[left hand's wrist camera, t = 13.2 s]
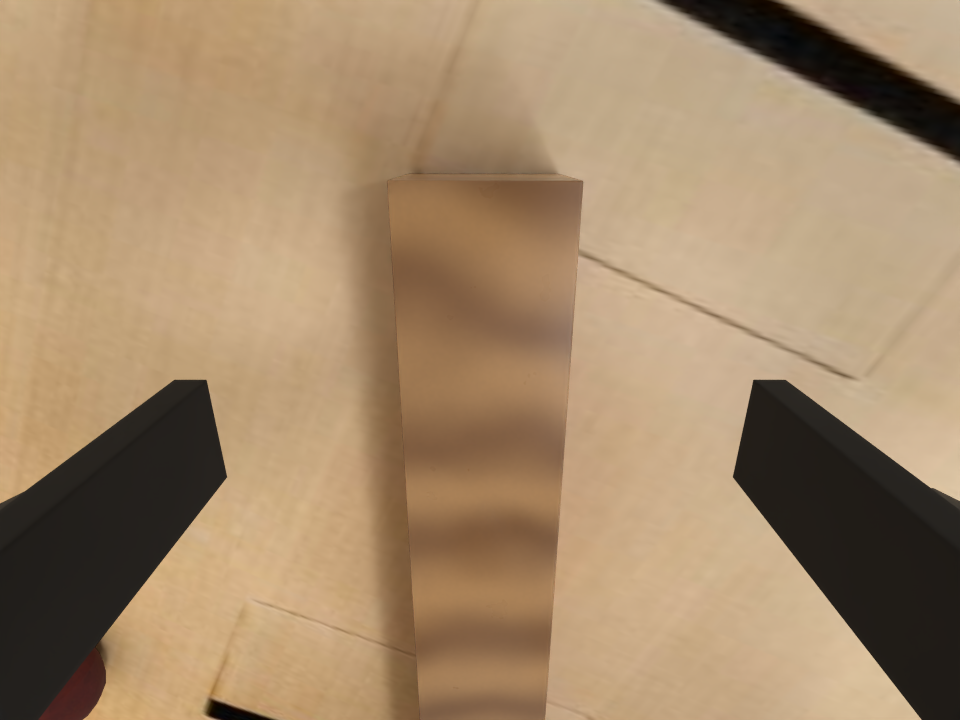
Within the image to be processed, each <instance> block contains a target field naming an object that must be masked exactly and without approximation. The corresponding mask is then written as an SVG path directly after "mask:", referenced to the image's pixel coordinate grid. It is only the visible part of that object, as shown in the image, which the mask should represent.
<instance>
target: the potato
mask: <svg viewBox="0 0 960 720" xmlns="http://www.w3.org/2000/svg"><path fill="white" fill-rule="evenodd" d="M105 684H106V670H105V666H104V662H103V660H102V658H101V655H100V653H99V652H98V651H97V649H96V648H95V647H94V649H93V650H92V651H91V653H90V654H89V655H88V656H87V658H86V659H85V660H84V662H83V663H82V664H81V665H80V667H79V668H78V669H77V671H76V672H75V673H74V674H73V676H72V677H71V678H70V680H69V681H68V682H67V683H66V685H65V686H64V687H63V689H62V690H61V691H60V692H59V694H58V695H57V696H56V698H55V699H54V700H53V701H52V703H51V704H50V705H49V707H48V708H47V709H46V710H45V712H44V713H43V714H42V715H41V717H40V718H39V719H38V720H83V719H84V718H85V717H87V716H88V715H89V713H90V712H91V711H92V709H93V708H94V707H95V706H96V704H97V702H98V700H99V698H100V696H101V694H102V692H103V689H104V686H105Z"/></svg>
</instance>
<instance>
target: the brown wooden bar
mask: <svg viewBox="0 0 960 720" xmlns="http://www.w3.org/2000/svg"><path fill="white" fill-rule="evenodd" d="M387 187H388V204H389V220H390V236H391V253H392V269H393V286H394V302H395V318H396V335H397V351H398V368H399V384H400V400H401V417H402V433H403V450H404V466H405V482H406V499H407V515H408V532H409V548H410V565H411V581H412V597H413V614H414V630H415V647H416V663H417V679H418V696H419V712H420V720H545V712H546V697H547V683H548V669H549V655H550V641H551V627H552V613H553V599H554V585H555V571H556V557H557V543H558V529H559V515H560V501H561V487H562V473H563V459H564V445H565V431H566V417H567V403H568V389H569V375H570V361H571V347H572V333H573V318H574V304H575V290H576V276H577V262H578V248H579V234H580V220H581V206H582V192H583V181H582V180H578V179H575V178H571V177H568V176H564V175H561V174H407V175H403V176H400V177H397V178H394V179H391V180H388V181H387Z"/></svg>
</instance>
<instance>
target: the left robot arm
mask: <svg viewBox="0 0 960 720" xmlns="http://www.w3.org/2000/svg"><path fill="white" fill-rule="evenodd" d="M226 478H227V475H226V470H225V465H224V460H223V456H222V451H221V446H220V441H219V437H218V432H217V427H216V423H215V418H214V413H213V408H212V404H211V399H210V394H209V390H208V385H207V380H174V381H172V382H171V383H170V384H168V385H167V386H166V387H164V388H163V389H162V390H160V391H159V392H158V393H156V394H155V395H154V396H152V397H151V398H150V399H148V400H147V401H146V402H144V403H143V404H142V405H140V406H139V407H137V408H136V409H135V410H133V411H132V412H131V413H129V414H128V415H127V416H125V417H124V418H123V419H121V420H120V421H119V422H117V423H116V424H115V425H113V426H112V427H111V428H109V429H108V430H107V431H105V432H104V433H103V434H101V435H100V436H99V437H97V438H96V439H95V440H93V441H92V442H91V443H89V444H88V445H87V446H85V447H84V448H82V449H81V450H80V451H78V452H77V453H76V454H74V455H73V456H72V457H70V458H69V459H68V460H66V461H65V462H64V463H62V464H61V465H60V466H58V467H57V468H56V469H54V470H53V471H52V472H50V473H49V474H48V475H46V476H45V477H44V478H42V479H41V480H40V481H38V482H37V483H36V484H34V485H33V486H32V487H30V488H29V489H27V490H26V491H25V492H23V493H21V494H19V495H17V496H15V497H12V498H10V499H8V500H6V501H4V502H2V503H0V720H38V719H39V718H40V717H41V715H42V714H43V713H44V712H45V710H46V709H47V708H48V707H49V705H50V704H51V703H52V701H53V700H54V699H55V698H56V696H57V695H58V694H59V692H60V691H61V690H62V689H63V687H64V686H65V685H66V683H67V682H68V681H69V680H70V678H71V677H72V676H73V674H74V673H75V672H76V671H77V669H78V668H79V667H80V665H81V664H82V663H83V662H84V660H85V659H86V658H87V656H88V655H89V654H90V653H91V651H92V650H93V649H94V647H95V646H96V645H97V644H98V642H99V641H100V640H101V638H102V637H103V636H104V635H105V633H106V632H107V631H108V629H109V628H110V627H111V626H112V624H113V623H114V622H115V620H116V619H117V618H118V617H119V615H120V614H121V613H122V611H123V610H124V609H125V608H126V606H127V605H128V604H129V602H130V601H131V600H132V599H133V597H134V596H135V595H136V593H137V592H138V591H139V590H140V588H141V587H142V586H143V584H144V583H145V582H146V581H147V579H148V578H149V577H150V575H151V574H152V573H153V572H154V570H155V569H156V568H157V566H158V565H159V564H160V563H161V561H162V560H163V559H164V557H165V556H166V555H167V554H168V552H169V551H170V550H171V548H172V547H173V546H174V545H175V543H176V542H177V541H178V540H179V538H180V537H181V536H182V534H183V533H184V532H185V531H186V529H187V528H188V527H189V525H190V524H191V523H192V522H193V520H194V519H195V518H196V516H197V515H198V514H199V513H200V511H201V510H202V509H203V507H204V506H205V505H206V504H207V502H208V501H209V500H210V498H211V497H212V496H213V495H214V493H215V492H216V491H217V489H218V488H219V487H220V486H221V484H222V483H223V482H224V480H225V479H226ZM733 478H734V479H735V480H736V482H737V483H738V484H739V486H740V487H741V488H742V489H743V491H744V492H745V493H746V495H747V496H748V497H749V498H750V500H751V501H752V502H753V504H754V505H755V506H756V507H757V509H758V510H759V511H760V513H761V514H762V515H763V516H764V518H765V519H766V520H767V522H768V523H769V524H770V525H771V527H772V528H773V529H774V531H775V532H776V533H777V534H778V536H779V537H780V538H781V540H782V541H783V542H784V543H785V545H786V546H787V547H788V548H789V550H790V551H791V552H792V554H793V555H794V556H795V557H796V559H797V560H798V561H799V563H800V564H801V565H802V566H803V568H804V569H805V570H806V572H807V573H808V574H809V575H810V577H811V578H812V579H813V581H814V582H815V583H816V584H817V586H818V587H819V588H820V590H821V591H822V592H823V593H824V595H825V596H826V597H827V599H828V600H829V601H830V602H831V604H832V605H833V606H834V608H835V609H836V610H837V611H838V613H839V614H840V615H841V617H842V618H843V619H844V620H845V622H846V623H847V624H848V626H849V627H850V628H851V629H852V631H853V632H854V633H855V635H856V636H857V637H858V638H859V640H860V641H861V642H862V644H863V645H864V646H865V647H866V649H867V650H868V651H869V653H870V654H871V655H872V656H873V658H874V659H875V660H876V662H877V663H878V664H879V665H880V667H881V668H882V669H883V671H884V672H885V673H886V674H887V676H888V677H889V678H890V680H891V681H892V682H893V683H894V685H895V686H896V687H897V689H898V690H899V691H900V692H901V694H902V695H903V696H904V698H905V699H906V700H907V701H908V703H909V704H910V705H911V707H912V708H913V709H914V710H915V712H916V713H917V714H918V715H919V717H920V718H921V719H922V720H960V501H958V500H956V499H954V498H952V497H950V496H948V495H946V494H944V493H942V492H940V491H938V490H936V489H934V488H930V487H928V486H927V485H926V484H924V483H923V482H922V481H920V480H919V479H918V478H916V477H915V476H914V475H912V474H911V473H910V472H908V471H907V470H906V469H904V468H903V467H902V466H900V465H899V464H898V463H896V462H895V461H894V460H892V459H891V458H890V457H888V456H887V455H886V454H884V453H883V452H882V451H880V450H879V449H878V448H876V447H875V446H873V445H872V444H871V443H869V442H868V441H867V440H865V439H864V438H863V437H861V436H860V435H859V434H857V433H856V432H855V431H853V430H852V429H851V428H849V427H848V426H847V425H845V424H844V423H843V422H841V421H840V420H839V419H837V418H836V417H835V416H833V415H832V414H831V413H829V412H828V411H827V410H825V409H824V408H823V407H821V406H820V405H818V404H817V403H816V402H814V401H813V400H812V399H810V398H809V397H808V396H806V395H805V394H804V393H802V392H801V391H800V390H798V389H797V388H796V387H794V386H793V385H792V384H790V383H789V382H788V381H786V380H753V385H752V390H751V394H750V399H749V404H748V408H747V413H746V418H745V423H744V427H743V432H742V437H741V441H740V446H739V451H738V456H737V460H736V465H735V470H734V474H733Z"/></svg>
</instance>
